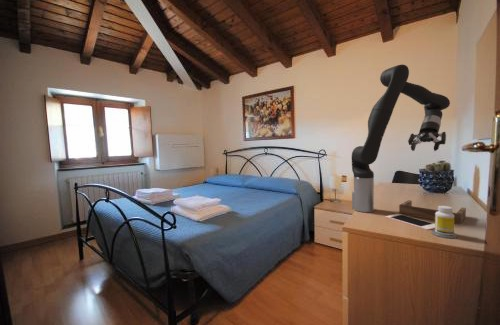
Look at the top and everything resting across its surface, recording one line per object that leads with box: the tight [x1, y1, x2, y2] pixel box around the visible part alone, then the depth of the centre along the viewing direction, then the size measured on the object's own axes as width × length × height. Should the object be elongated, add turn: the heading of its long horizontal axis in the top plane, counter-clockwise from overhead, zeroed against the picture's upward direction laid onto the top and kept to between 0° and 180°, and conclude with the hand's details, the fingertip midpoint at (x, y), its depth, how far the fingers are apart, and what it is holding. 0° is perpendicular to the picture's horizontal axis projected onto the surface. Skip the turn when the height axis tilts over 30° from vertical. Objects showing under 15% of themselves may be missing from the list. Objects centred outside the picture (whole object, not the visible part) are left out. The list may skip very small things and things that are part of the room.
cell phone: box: [385, 213, 435, 231], centre depth 97 cm, size 9×18×1 cm, turn 21°
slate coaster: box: [431, 229, 458, 240], centre depth 83 cm, size 7×7×1 cm
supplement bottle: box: [434, 205, 455, 235], centre depth 82 cm, size 5×5×10 cm
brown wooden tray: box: [398, 199, 467, 225], centre depth 105 cm, size 14×22×4 cm, turn 39°
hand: (423, 149), depth 107 cm, fingers open, 8 cm apart
